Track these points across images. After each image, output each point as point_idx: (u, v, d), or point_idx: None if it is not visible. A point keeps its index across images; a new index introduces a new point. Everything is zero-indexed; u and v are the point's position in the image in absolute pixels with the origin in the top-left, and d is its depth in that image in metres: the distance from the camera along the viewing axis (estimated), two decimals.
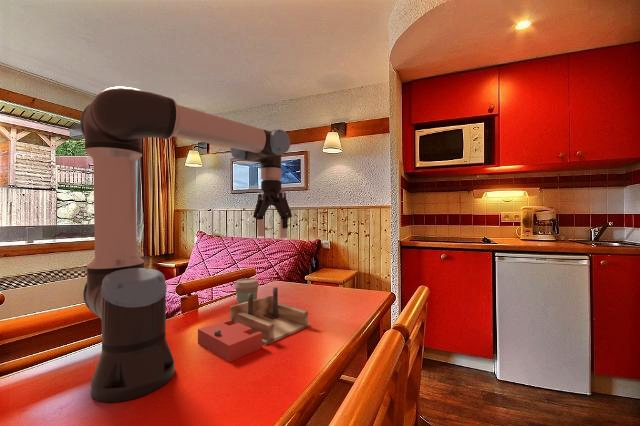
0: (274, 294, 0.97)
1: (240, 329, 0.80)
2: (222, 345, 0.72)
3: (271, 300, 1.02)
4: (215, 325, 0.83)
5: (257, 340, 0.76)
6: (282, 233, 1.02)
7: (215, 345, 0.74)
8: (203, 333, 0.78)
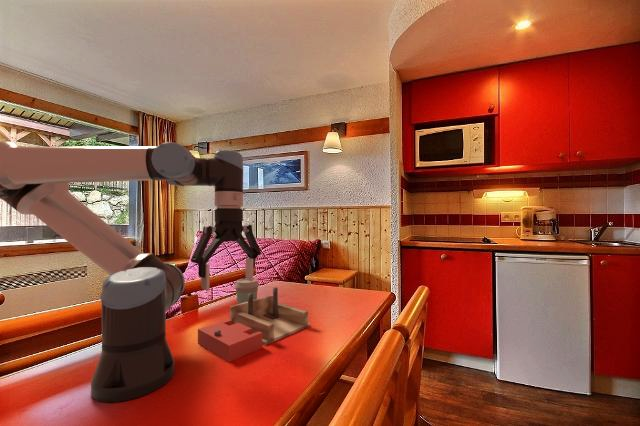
0: (274, 294, 0.97)
1: (240, 329, 0.80)
2: (222, 345, 0.72)
3: (271, 300, 1.02)
4: (215, 325, 0.83)
5: (257, 340, 0.76)
6: (202, 283, 0.74)
7: (215, 345, 0.74)
8: (203, 333, 0.78)
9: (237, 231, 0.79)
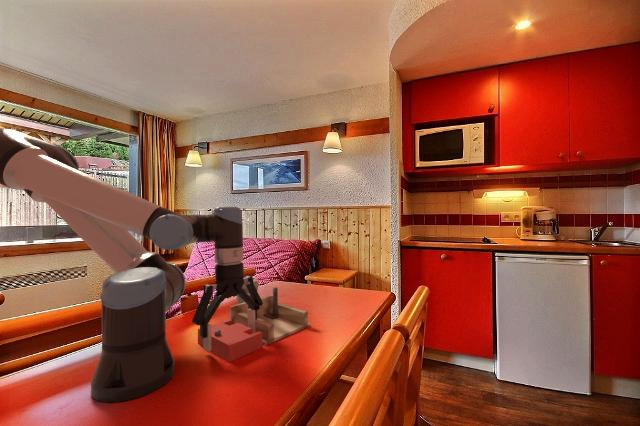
0: (274, 294, 0.97)
1: (240, 329, 0.80)
2: (222, 345, 0.72)
3: (271, 300, 1.02)
4: (215, 325, 0.83)
5: (257, 340, 0.76)
6: (204, 342, 0.74)
7: (215, 345, 0.74)
8: None
9: (238, 286, 0.79)
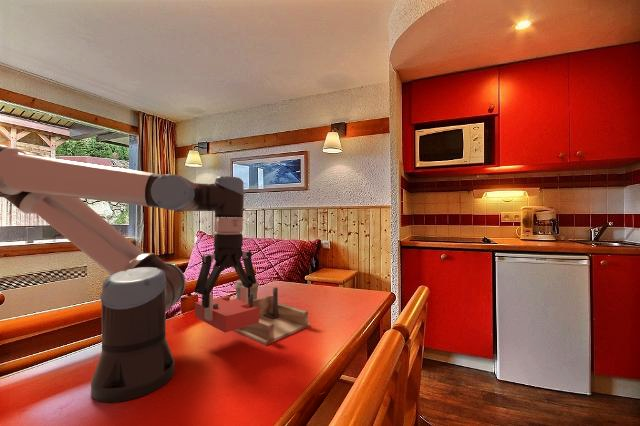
0: (274, 294, 0.97)
1: (237, 304, 0.80)
2: (219, 317, 0.72)
3: (271, 300, 1.02)
4: None
5: (254, 314, 0.76)
6: (205, 312, 0.75)
7: None
8: (200, 306, 0.79)
9: (236, 257, 0.79)
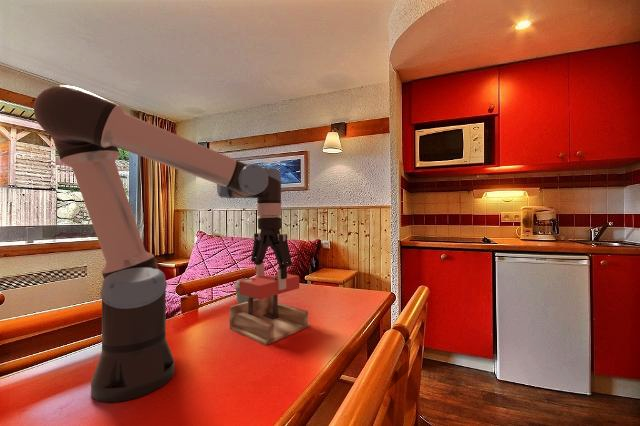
0: None
1: (268, 276, 0.94)
2: (292, 280, 0.92)
3: (271, 300, 1.02)
4: (253, 282, 0.86)
5: None
6: (281, 284, 0.88)
7: None
8: (268, 284, 0.85)
9: None
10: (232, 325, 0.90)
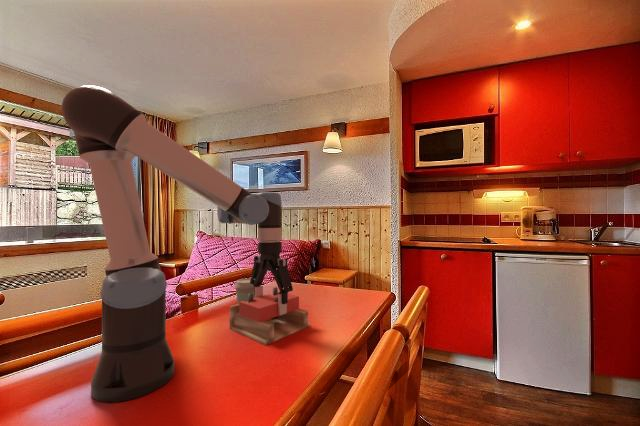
0: (274, 294, 0.97)
1: (268, 296, 0.94)
2: (291, 301, 0.92)
3: None
4: (253, 304, 0.86)
5: None
6: (281, 309, 0.87)
7: None
8: (268, 307, 0.85)
9: None
10: (232, 325, 0.90)
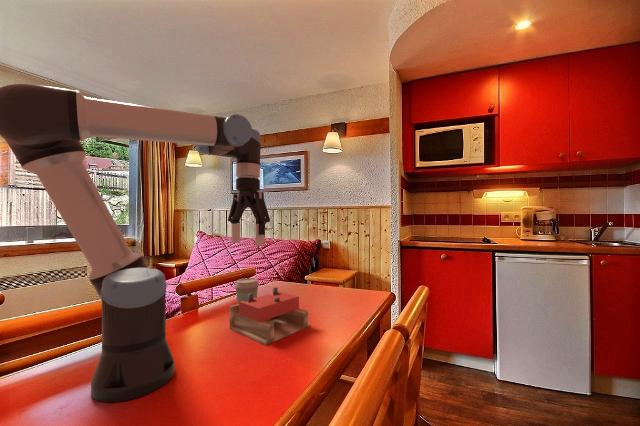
0: (274, 294, 0.97)
1: (268, 296, 0.94)
2: (291, 301, 0.92)
3: None
4: (253, 304, 0.86)
5: None
6: (258, 240, 0.87)
7: (284, 306, 0.89)
8: (268, 307, 0.85)
9: None
10: (232, 325, 0.90)
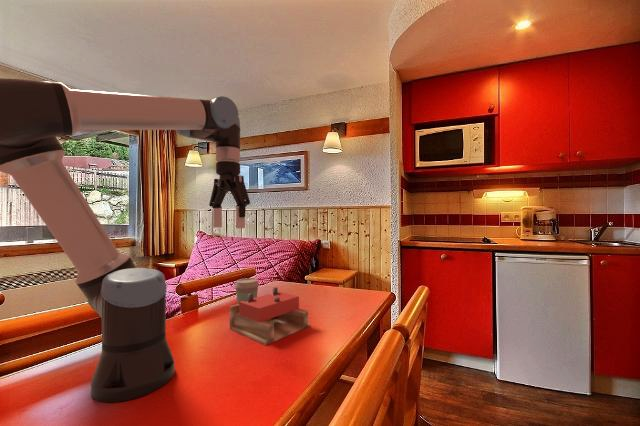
0: (274, 294, 0.97)
1: (268, 296, 0.94)
2: (291, 301, 0.92)
3: None
4: (253, 304, 0.86)
5: None
6: (239, 223, 0.88)
7: (284, 306, 0.89)
8: (268, 307, 0.85)
9: None
10: (232, 325, 0.90)
